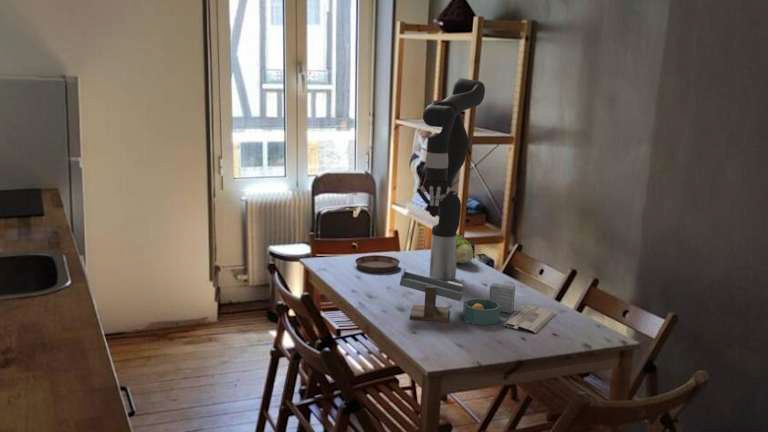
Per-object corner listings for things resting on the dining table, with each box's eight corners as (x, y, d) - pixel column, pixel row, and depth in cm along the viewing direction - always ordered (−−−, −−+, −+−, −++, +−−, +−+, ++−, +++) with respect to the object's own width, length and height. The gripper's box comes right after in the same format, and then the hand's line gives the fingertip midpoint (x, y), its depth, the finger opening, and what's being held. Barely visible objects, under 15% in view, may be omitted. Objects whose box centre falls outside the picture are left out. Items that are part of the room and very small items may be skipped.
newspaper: (520, 308, 242) (521, 301, 241) (555, 319, 236) (556, 312, 235) (496, 327, 222) (497, 320, 221) (533, 340, 217) (535, 332, 216)
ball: (485, 317, 230) (481, 307, 232) (486, 309, 227) (482, 299, 229) (473, 319, 229) (469, 309, 232) (474, 312, 226) (470, 302, 229)
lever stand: (412, 307, 236) (414, 275, 234) (448, 310, 235) (450, 278, 233) (409, 319, 225) (411, 285, 223) (447, 322, 224) (449, 288, 222)
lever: (403, 276, 240) (406, 262, 239) (460, 291, 239) (464, 277, 238) (398, 290, 225) (401, 275, 224) (459, 306, 224) (463, 291, 223)
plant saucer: (348, 271, 276) (348, 263, 275) (363, 260, 292) (363, 252, 292) (392, 276, 271) (392, 269, 270) (404, 265, 288) (404, 257, 287)
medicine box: (513, 310, 238) (515, 285, 236) (511, 314, 234) (513, 289, 232) (490, 306, 240) (492, 282, 239) (487, 310, 236) (489, 285, 235)
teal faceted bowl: (478, 310, 236) (479, 296, 235) (506, 320, 227) (507, 305, 226) (455, 317, 229) (456, 302, 228) (482, 327, 220) (484, 312, 219)
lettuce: (455, 270, 282) (456, 242, 280) (433, 256, 301) (434, 230, 299) (480, 268, 286) (482, 241, 284) (457, 255, 305) (459, 229, 303)
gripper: (415, 166, 235) (413, 217, 238) (456, 168, 233) (452, 219, 237) (417, 163, 242) (415, 212, 246) (456, 165, 240) (453, 215, 244)
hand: (433, 216), depth 241 cm, fingers closed
